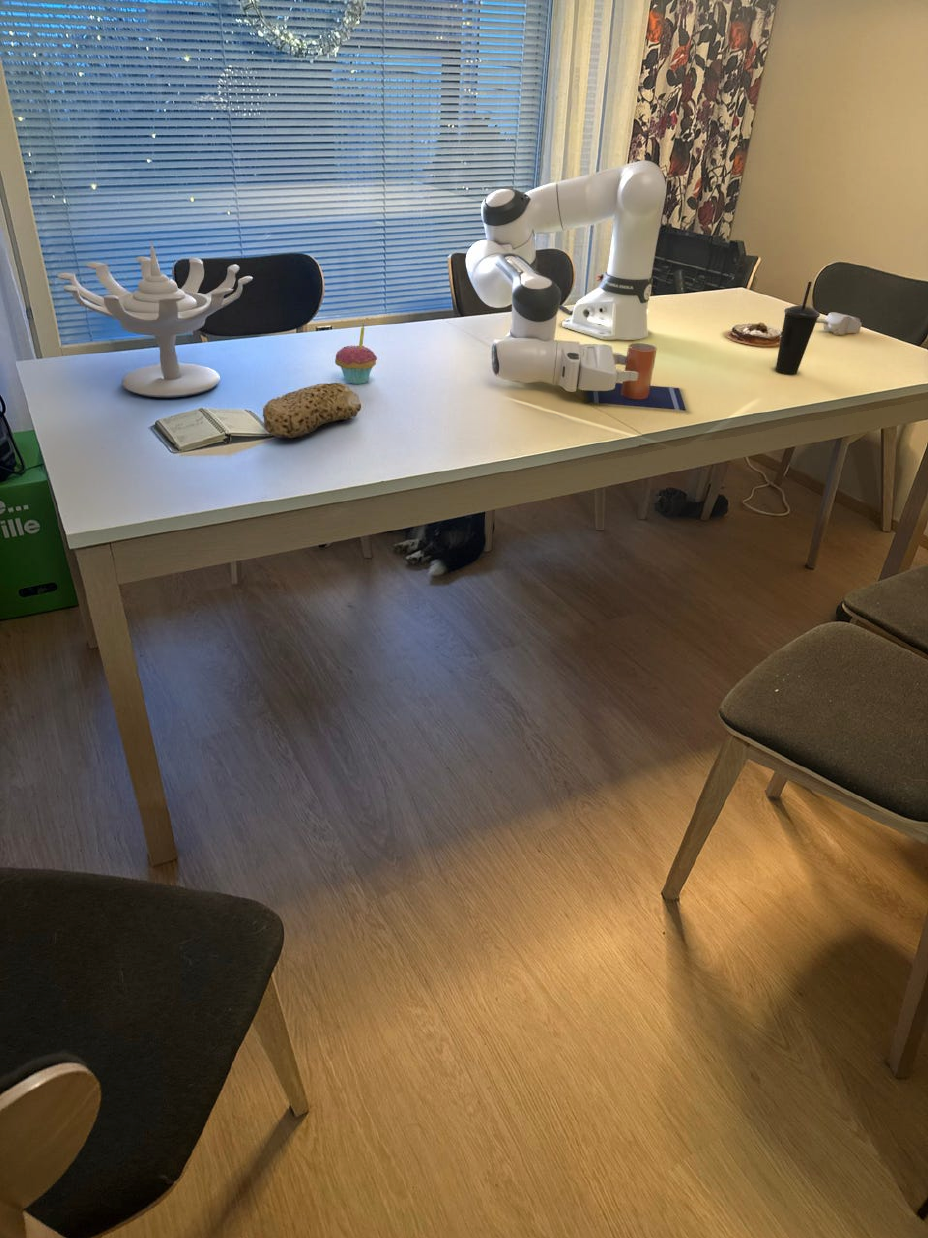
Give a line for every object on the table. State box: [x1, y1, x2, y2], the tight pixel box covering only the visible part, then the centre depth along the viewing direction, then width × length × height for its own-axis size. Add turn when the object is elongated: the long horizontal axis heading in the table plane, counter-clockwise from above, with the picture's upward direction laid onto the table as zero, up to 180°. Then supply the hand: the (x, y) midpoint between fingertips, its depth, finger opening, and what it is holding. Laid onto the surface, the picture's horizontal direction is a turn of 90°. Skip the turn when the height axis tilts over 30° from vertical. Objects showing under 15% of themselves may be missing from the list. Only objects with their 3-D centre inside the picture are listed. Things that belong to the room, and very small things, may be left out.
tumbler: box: [621, 342, 658, 400], centre depth 173 cm, size 6×6×10 cm
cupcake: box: [334, 323, 378, 385], centre depth 172 cm, size 9×8×12 cm
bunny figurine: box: [815, 311, 863, 336], centre depth 226 cm, size 10×5×15 cm
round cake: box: [725, 322, 782, 347], centre depth 217 cm, size 15×15×4 cm
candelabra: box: [56, 241, 253, 399], centre depth 161 cm, size 34×35×27 cm
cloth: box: [586, 382, 687, 412], centre depth 176 cm, size 20×14×1 cm
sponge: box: [262, 382, 362, 439], centre depth 151 cm, size 13×8×20 cm
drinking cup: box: [775, 281, 821, 376], centre depth 190 cm, size 8×8×20 cm
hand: (635, 368), depth 173 cm, fingers open, 8 cm apart
